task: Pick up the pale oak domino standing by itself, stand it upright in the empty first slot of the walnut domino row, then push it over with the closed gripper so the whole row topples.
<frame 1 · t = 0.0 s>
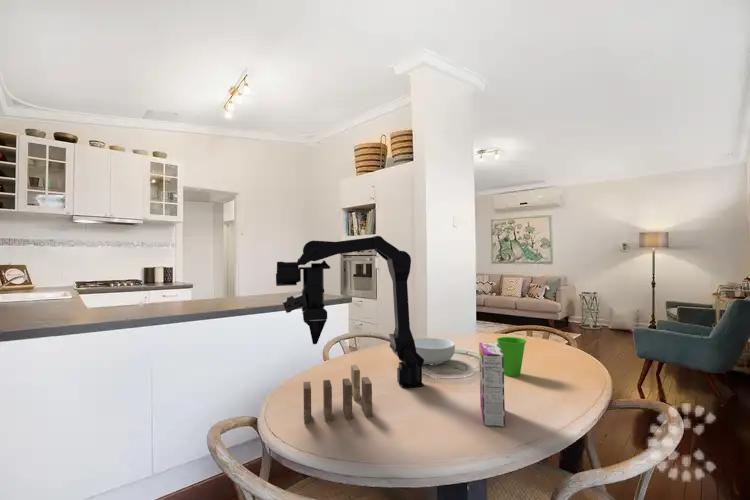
hand: (313, 340, 108), 15 cm above the table, tool pointing down, fingers open, 9 cm apart
domino 4: (327, 416, 92), on the table
domino 5: (307, 418, 91), on the table
cup: (511, 374, 122), on the table
cereal bowl: (431, 362, 137), on the table
domino 2: (366, 412, 94), on the table
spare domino: (355, 396, 105), on the table
candy bar box: (491, 417, 91), on the table
domino 3: (347, 414, 93), on the table
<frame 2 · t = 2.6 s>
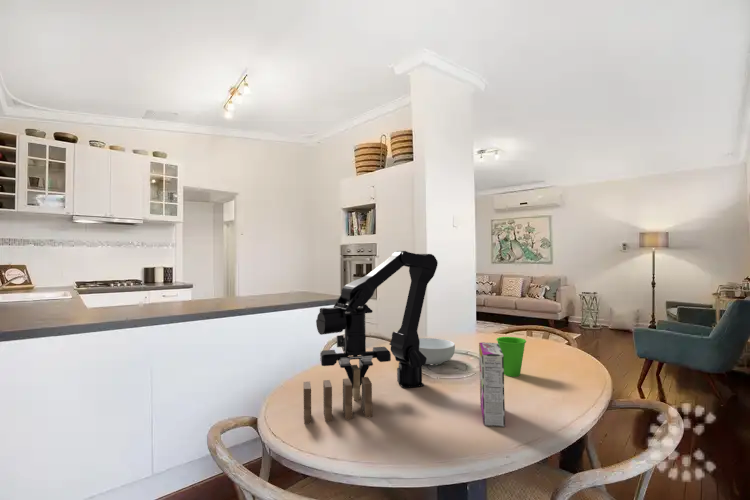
hand: (355, 387, 105), 3 cm above the table, tool pointing down, fingers closed on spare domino, 2 cm apart
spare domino: (355, 396, 105), on the table, touching gripper
everything else where it was.
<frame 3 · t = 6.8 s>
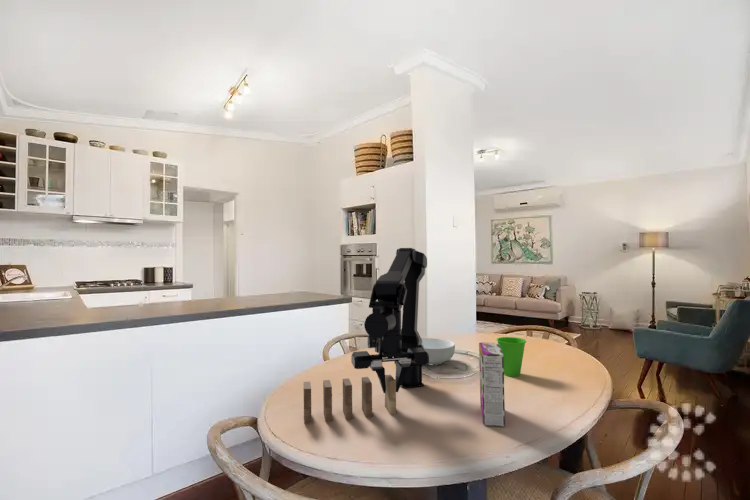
hand: (390, 392, 95), 4 cm above the table, tool pointing down, fingers open, 3 cm apart
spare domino: (390, 410, 96), on the table
everything else where it was.
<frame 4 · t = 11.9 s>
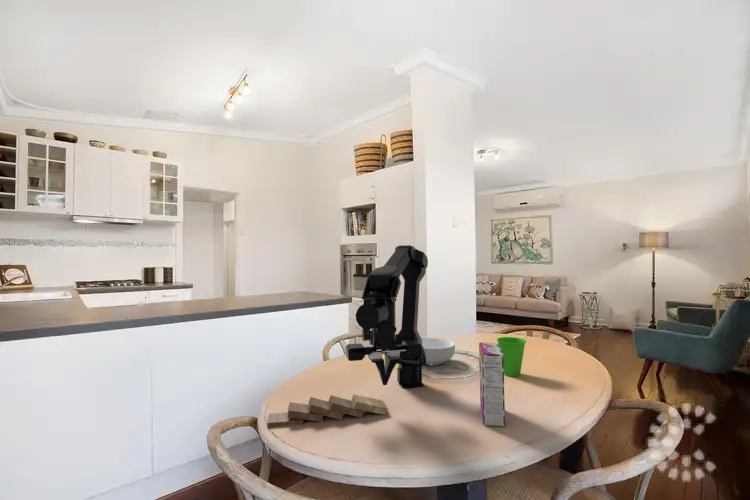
hand: (384, 384, 95), 6 cm above the table, tool pointing down, fingers closed
domino 4: (322, 414, 92), point 1 cm above the table, tilted 77°, touching domino 3
domino 5: (303, 418, 91), on the table, tilted 90°
domino 2: (361, 410, 94), point 1 cm above the table, tilted 71°, touching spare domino
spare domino: (384, 407, 95), point 1 cm above the table, tilted 73°, touching domino 2
domino 3: (341, 412, 93), point 1 cm above the table, tilted 70°, touching domino 4
everything else where it was.
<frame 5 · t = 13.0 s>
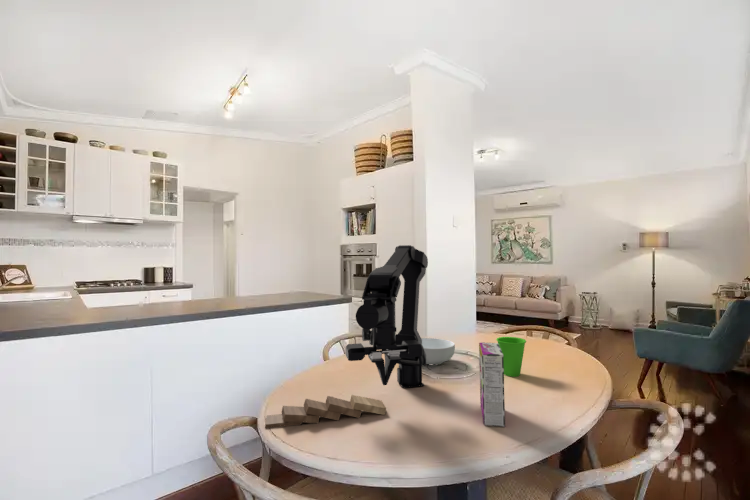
hand: (384, 384, 95), 6 cm above the table, tool pointing down, fingers closed
domino 4: (317, 415, 91), point 1 cm above the table, tilted 79°, touching domino 3, domino 5
domino 5: (301, 419, 91), on the table, tilted 90°, touching domino 4
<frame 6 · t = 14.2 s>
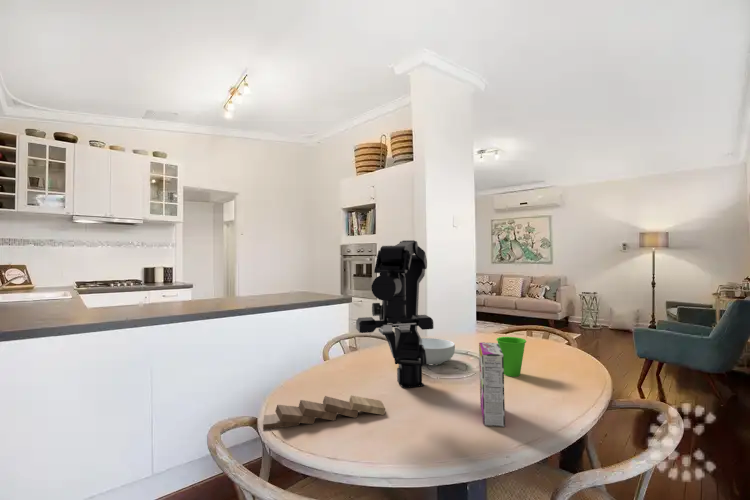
hand: (394, 357, 96), 13 cm above the table, tool pointing down, fingers closed
domino 4: (311, 415, 90), point 1 cm above the table, tilted 73°, touching domino 3
domino 5: (298, 419, 90), on the table, tilted 90°
domino 3: (333, 412, 92), point 1 cm above the table, tilted 71°, touching domino 4
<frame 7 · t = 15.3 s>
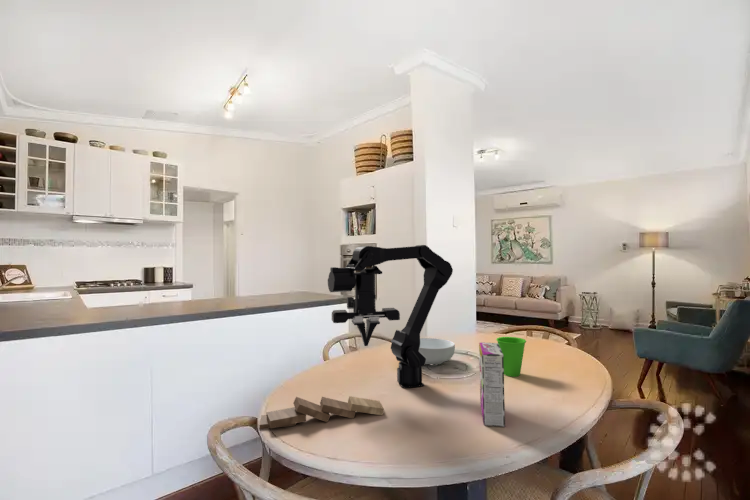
hand: (365, 345, 108), 13 cm above the table, tool pointing down, fingers closed
domino 4: (303, 413, 90), point 2 cm above the table, tilted 90°, touching domino 5
domino 5: (295, 419, 90), on the table, tilted 90°, touching domino 4
domino 2: (353, 411, 93), point 1 cm above the table, tilted 72°, touching domino 3, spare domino
domino 3: (326, 414, 92), point 1 cm above the table, tilted 63°, touching domino 2
everything else where it was.
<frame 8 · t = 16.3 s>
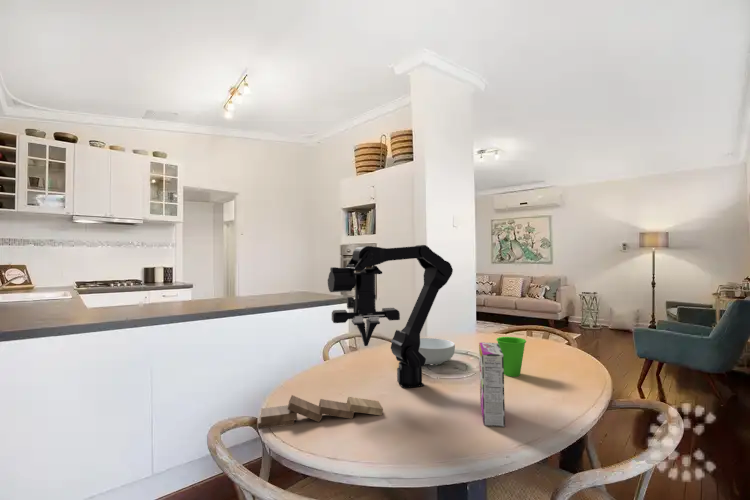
hand: (365, 345, 108), 13 cm above the table, tool pointing down, fingers closed
domino 4: (296, 411, 91), point 2 cm above the table, tilted 90°, touching domino 3, domino 5
domino 2: (352, 411, 93), point 1 cm above the table, tilted 76°, touching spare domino
domino 3: (320, 414, 92), point 1 cm above the table, tilted 64°, touching domino 4
at the end: domino 5 tilted 90°; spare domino tilted 77°; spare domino inside the target area (1.1 cm from its centre), point 0.7 cm above the table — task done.
